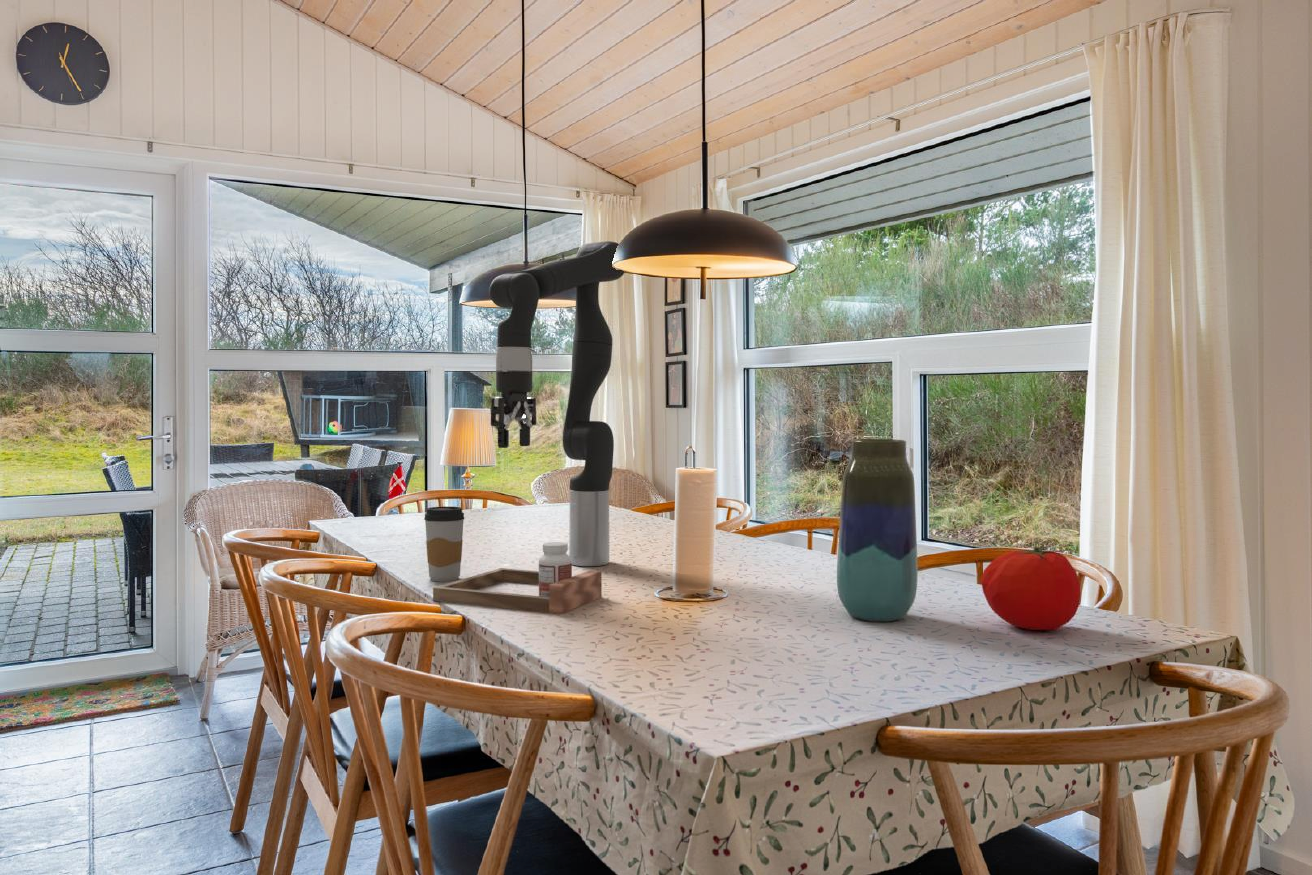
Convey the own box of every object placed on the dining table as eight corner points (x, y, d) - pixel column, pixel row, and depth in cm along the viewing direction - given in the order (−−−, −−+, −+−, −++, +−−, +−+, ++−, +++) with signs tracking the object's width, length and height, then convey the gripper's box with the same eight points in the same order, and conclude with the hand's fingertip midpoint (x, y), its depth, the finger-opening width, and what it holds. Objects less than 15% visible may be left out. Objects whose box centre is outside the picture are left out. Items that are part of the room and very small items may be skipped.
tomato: (1084, 626, 160) (1086, 545, 159) (1074, 643, 148) (1076, 556, 148) (988, 615, 168) (990, 538, 167) (971, 630, 156) (973, 548, 156)
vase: (916, 611, 171) (919, 439, 170) (916, 628, 157) (919, 442, 156) (839, 606, 174) (841, 438, 173) (832, 622, 161) (835, 440, 160)
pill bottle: (569, 598, 180) (569, 540, 180) (574, 605, 174) (574, 545, 174) (537, 599, 179) (537, 541, 178) (540, 606, 173) (540, 546, 172)
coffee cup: (469, 575, 203) (469, 506, 202) (457, 583, 195) (457, 510, 194) (432, 574, 204) (431, 505, 203) (418, 582, 195) (418, 510, 195)
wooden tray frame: (500, 579, 199) (500, 555, 199) (618, 590, 188) (618, 565, 188) (433, 600, 177) (433, 573, 177) (561, 613, 167) (561, 585, 166)
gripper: (516, 371, 205) (516, 445, 205) (479, 368, 192) (479, 448, 192) (546, 370, 202) (546, 446, 202) (511, 368, 189) (511, 448, 189)
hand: (514, 447), depth 197 cm, fingers open, 8 cm apart
